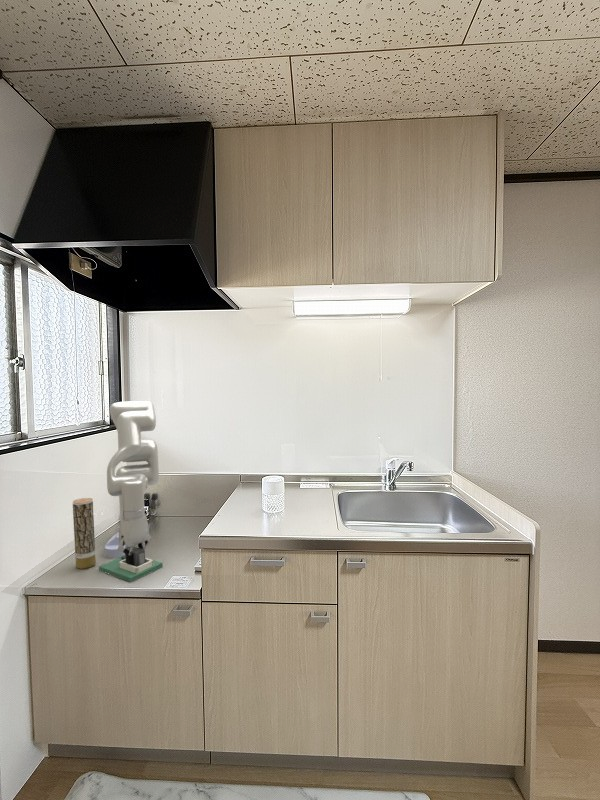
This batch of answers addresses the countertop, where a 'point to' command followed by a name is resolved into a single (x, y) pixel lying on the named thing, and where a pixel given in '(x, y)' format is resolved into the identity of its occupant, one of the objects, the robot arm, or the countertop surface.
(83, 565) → the bark patterned cylinder
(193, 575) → the countertop surface
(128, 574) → the board
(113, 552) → the wedge on round base
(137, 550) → the plug
